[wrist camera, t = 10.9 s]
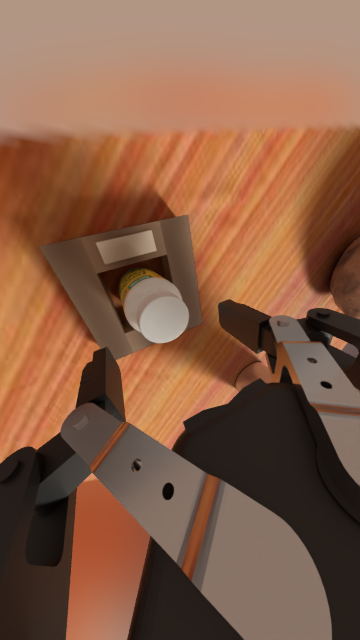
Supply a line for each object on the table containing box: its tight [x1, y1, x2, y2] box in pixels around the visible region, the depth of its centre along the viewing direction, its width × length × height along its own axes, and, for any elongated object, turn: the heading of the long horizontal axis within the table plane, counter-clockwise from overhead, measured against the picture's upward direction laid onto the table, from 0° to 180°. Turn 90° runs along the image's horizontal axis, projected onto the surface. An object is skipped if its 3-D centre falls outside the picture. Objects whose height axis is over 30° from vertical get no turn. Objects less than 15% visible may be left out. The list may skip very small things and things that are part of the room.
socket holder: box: [39, 215, 203, 360], centre depth 18 cm, size 13×13×3 cm
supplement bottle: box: [119, 268, 189, 343], centre depth 16 cm, size 5×5×10 cm
